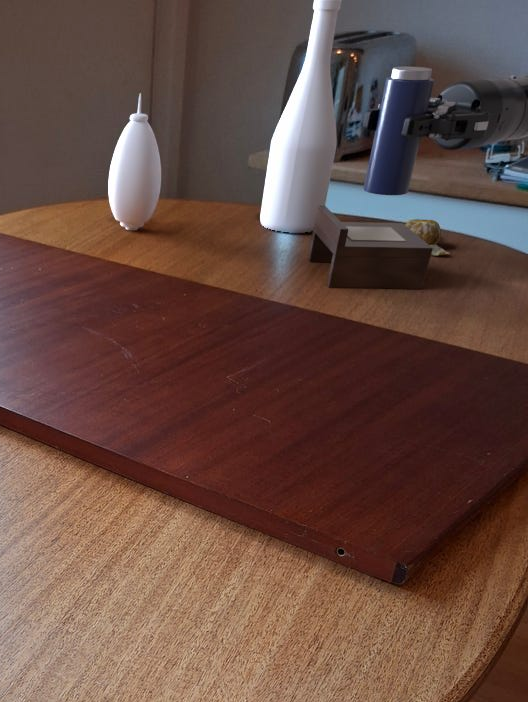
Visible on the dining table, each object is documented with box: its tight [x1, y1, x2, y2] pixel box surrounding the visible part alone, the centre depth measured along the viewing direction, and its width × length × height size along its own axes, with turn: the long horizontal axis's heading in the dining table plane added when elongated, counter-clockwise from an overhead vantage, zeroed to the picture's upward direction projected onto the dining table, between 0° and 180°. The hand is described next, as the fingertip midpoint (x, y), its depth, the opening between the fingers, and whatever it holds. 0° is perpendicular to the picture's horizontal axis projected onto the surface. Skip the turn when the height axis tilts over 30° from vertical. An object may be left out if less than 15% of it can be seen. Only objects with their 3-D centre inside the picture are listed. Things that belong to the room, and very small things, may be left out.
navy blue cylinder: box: [363, 66, 435, 196], centre depth 107 cm, size 5×5×13 cm
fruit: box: [404, 218, 451, 256], centre depth 127 cm, size 8×8×4 cm
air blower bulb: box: [107, 92, 162, 231], centre depth 130 cm, size 8×8×18 cm
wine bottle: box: [259, 0, 343, 234], centre depth 128 cm, size 10×10×30 cm
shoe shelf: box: [307, 205, 433, 290], centre depth 116 cm, size 12×13×7 cm
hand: (386, 124), depth 105 cm, fingers closed on navy blue cylinder, 5 cm apart
